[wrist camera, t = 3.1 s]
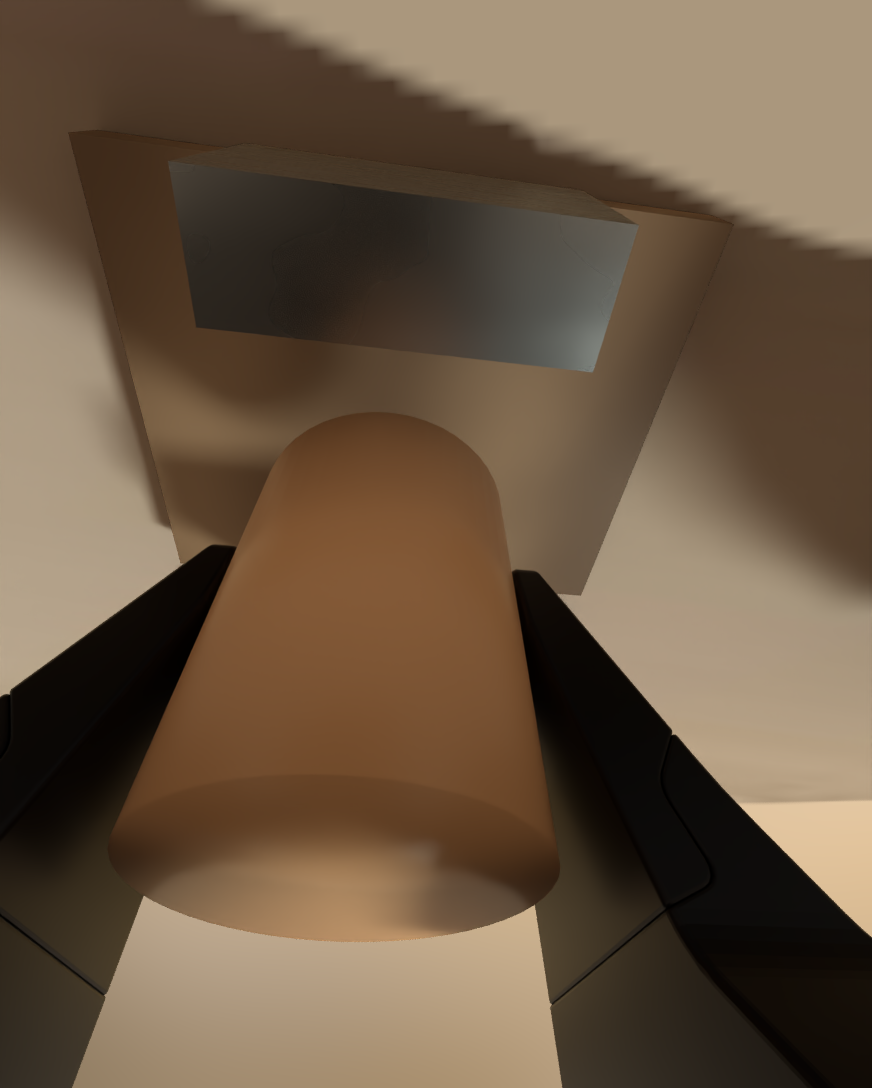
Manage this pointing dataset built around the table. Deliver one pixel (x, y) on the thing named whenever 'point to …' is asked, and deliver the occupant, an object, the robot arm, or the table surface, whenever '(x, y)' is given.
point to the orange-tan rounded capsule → (353, 709)
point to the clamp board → (385, 376)
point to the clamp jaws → (398, 256)
